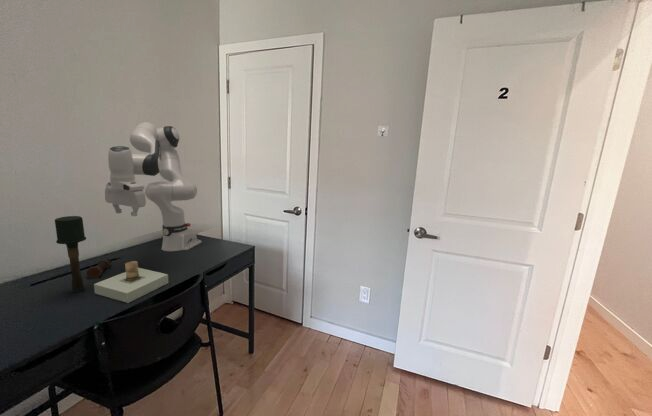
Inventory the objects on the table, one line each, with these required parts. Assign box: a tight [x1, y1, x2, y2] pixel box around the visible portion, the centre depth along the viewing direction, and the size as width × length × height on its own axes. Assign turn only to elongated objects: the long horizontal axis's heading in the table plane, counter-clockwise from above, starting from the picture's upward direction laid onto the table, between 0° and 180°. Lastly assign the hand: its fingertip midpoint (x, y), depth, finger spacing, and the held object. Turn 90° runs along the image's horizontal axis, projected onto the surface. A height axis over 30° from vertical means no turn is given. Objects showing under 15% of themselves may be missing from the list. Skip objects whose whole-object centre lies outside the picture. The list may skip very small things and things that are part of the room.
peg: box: [124, 260, 139, 282], centre depth 115 cm, size 4×4×11 cm
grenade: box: [54, 215, 87, 293], centre depth 109 cm, size 8×9×30 cm
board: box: [93, 267, 169, 304], centre depth 116 cm, size 18×18×4 cm
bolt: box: [85, 258, 113, 279], centre depth 130 cm, size 6×5×15 cm
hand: (126, 214), depth 126 cm, fingers open, 8 cm apart
